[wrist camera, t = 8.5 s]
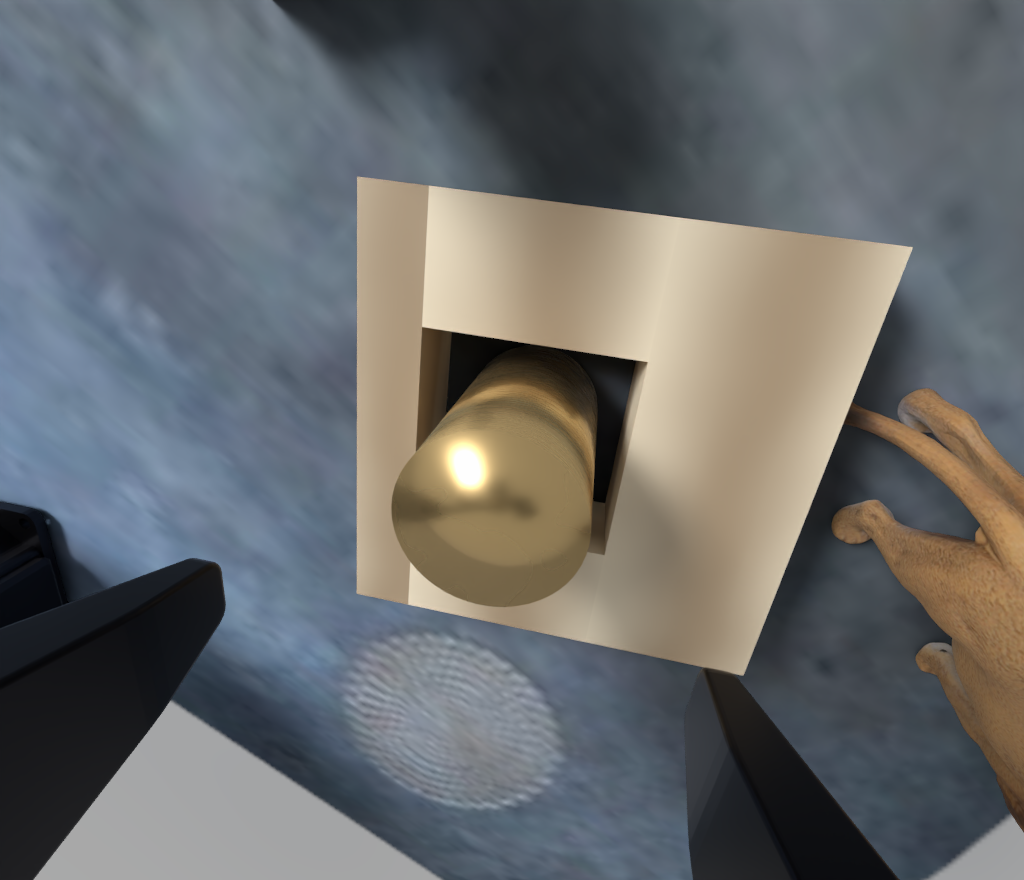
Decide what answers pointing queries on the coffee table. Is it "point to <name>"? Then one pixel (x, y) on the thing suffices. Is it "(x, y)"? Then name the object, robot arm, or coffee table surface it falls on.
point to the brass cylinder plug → (504, 483)
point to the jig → (651, 401)
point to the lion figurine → (961, 574)
